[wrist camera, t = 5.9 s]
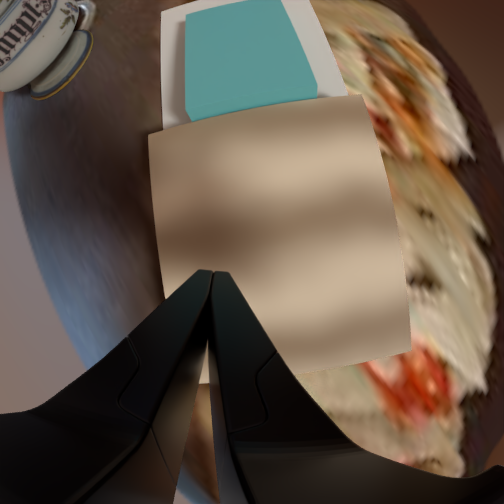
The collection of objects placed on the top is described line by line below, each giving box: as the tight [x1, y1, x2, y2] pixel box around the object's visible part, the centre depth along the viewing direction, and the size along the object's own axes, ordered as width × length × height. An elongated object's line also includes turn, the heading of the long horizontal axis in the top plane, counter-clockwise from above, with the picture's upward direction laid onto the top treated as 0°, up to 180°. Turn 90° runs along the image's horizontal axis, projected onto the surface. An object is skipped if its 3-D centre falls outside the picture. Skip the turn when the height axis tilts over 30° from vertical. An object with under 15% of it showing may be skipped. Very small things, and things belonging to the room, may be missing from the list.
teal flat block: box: [185, 0, 318, 122], centre depth 18 cm, size 2×8×12 cm
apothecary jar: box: [0, 0, 93, 100], centre depth 14 cm, size 12×12×18 cm
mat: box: [161, 0, 348, 130], centre depth 20 cm, size 16×14×1 cm
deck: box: [148, 94, 411, 383], centre depth 18 cm, size 16×14×3 cm
